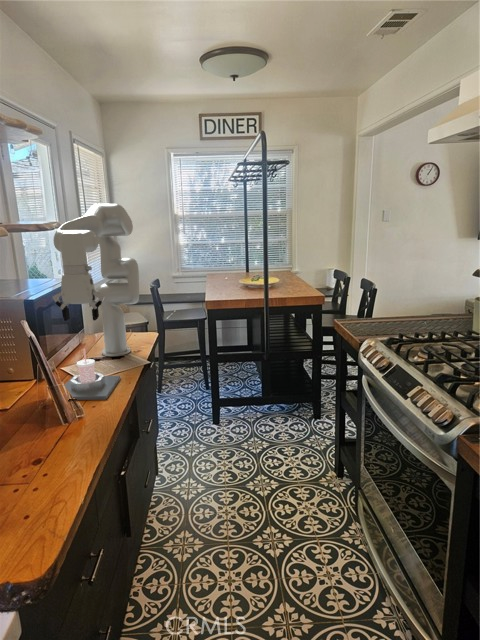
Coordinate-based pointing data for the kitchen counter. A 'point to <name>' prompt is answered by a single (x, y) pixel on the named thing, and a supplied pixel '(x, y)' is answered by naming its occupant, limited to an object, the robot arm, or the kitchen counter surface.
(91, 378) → the beverage cup
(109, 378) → the plate
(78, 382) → the steel collar
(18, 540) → the kitchen counter surface
